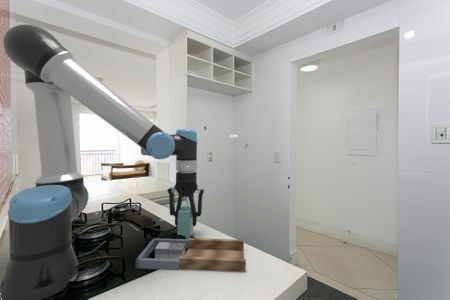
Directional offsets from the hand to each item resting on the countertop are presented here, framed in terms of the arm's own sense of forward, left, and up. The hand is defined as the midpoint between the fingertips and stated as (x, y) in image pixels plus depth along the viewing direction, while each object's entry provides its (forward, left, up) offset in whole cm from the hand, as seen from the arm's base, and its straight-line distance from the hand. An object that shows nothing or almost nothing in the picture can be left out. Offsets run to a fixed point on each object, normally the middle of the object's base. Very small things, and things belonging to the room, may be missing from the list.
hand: (185, 233), depth 79 cm
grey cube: (-3, -15, -1) cm, 15 cm away
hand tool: (-22, +12, -2) cm, 26 cm away
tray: (-3, -15, -2) cm, 15 cm away
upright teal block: (0, 0, -1) cm, 1 cm away
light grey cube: (+1, -15, -1) cm, 15 cm away
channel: (+12, -15, -2) cm, 19 cm away
